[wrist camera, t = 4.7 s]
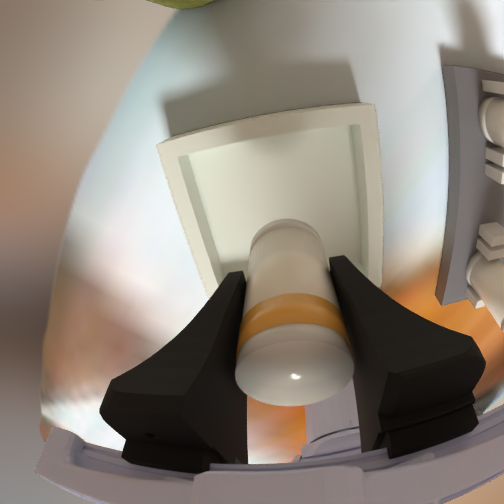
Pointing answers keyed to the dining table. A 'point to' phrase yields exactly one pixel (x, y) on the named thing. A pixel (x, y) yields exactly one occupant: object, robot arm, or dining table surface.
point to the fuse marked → (291, 320)
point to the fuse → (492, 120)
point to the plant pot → (182, 3)
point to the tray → (279, 185)
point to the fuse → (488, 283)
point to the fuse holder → (470, 183)
